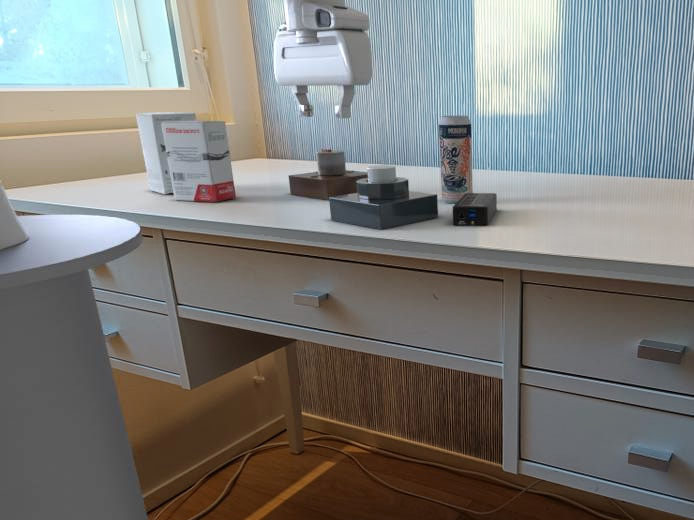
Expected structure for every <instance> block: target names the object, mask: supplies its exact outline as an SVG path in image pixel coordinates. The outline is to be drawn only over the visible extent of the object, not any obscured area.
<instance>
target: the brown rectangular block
mask: <svg viewBox="0 0 694 520" xmlns="http://www.w3.org/2000/svg"><path fill="white" fill-rule="evenodd" d="M365 178H368V172H367V171H359V170H350V169H346V174H343V175H334V176H323V175H319V174H318V170H316V171H313V172H312V171H311V172H305V173H297V174H289V175H288V183H289V191H290V195H294V196H299V197H305V198H313V199H319V200H325V201H329V197H334V196H340V195H347V194H353V193H357V186H356V181H357V180H360V179H365Z"/></svg>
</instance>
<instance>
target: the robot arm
mask: <svg viewBox="0 0 694 520" xmlns="http://www.w3.org/2000/svg"><path fill="white" fill-rule="evenodd" d="M283 3H284V12H285V22H282V23H281V24H280V25H279V28H278V29H277V31H276V35H275V39H274V44H273V67H274V68H273V70H274V79H275V81H276V83H277V84H278V86H280V87H291V95H292V96H293V98H294V100H295V103H296V104H297V108H298V116H299V117H302V118H312V117H313V116H314V106H313V104H311V103H310V101H309V99H308V96H307V94H308V93H309V87H308V86H312V87H313V86H314V87H315V86H316V87H317V86H323V87H325V86H337V94H338V95H339V100H338V104H337V105H335V106H334V110H335V118H337V119H350V118H351V116H352V112H351V111H352V110H351V106H352V104H353V100H354V97H355V94H356V90H355V86H369V85H370V83H371V80H372V78H373V53H372V44H371V39H370V37H369V34H368V33H367V32H366V31H368V30H370V23H371V22H370V17H369V15H368V14H367V13H365V12H362V11H359V10H357V9H355V8H353V7H351V6H349V5H346V0H283ZM17 216H18V215H17V212H16V211H15V209H14V208H13V205H12V203H11V200H10V199H9V196H8V194H7V192H6V190H5V187H4V185H3V183H2V181H1V179H0V250H1V249H4V248H8V247H11V246H14V245H17V244H19V243H22V242H24V241H26V240H27V239H28V238H29V235H28V233H27V232H26V230H25V229H24V227H23V225H22V224H21V222H20V220H19V219H18V217H17Z"/></svg>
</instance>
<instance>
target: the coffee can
mask: <svg viewBox="0 0 694 520" xmlns="http://www.w3.org/2000/svg"><path fill="white" fill-rule="evenodd" d="M472 137H473V136H472V122H471V119H470V116H469V115H441V116H440V119H439V121H438V144H439V168H440V169H439V170H440V171H439V172H440V196H441V197H440V199H441V200H442V201H444V202H445V203H448V204H449V203H450V204H456V203H457V202H458V201H459V200H460V199H461V198H462V197H463V195H464V194H466V193H474V191H473V190H474V189H473V187H474V186H473V145H472V144H473V142H472V141H473V139H472Z"/></svg>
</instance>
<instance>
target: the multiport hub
mask: <svg viewBox="0 0 694 520" xmlns="http://www.w3.org/2000/svg"><path fill="white" fill-rule="evenodd" d="M497 197H498V196H497V193H494V192H489V193H488V192H473V193H466V194H464V195H463V197H462V198H461V199H460V200H459V201H458V202H457V203H454V204H453V206H452V225H453V226H484V227H485V226H488V225H489V224H490V222H491V221H492V219H493V217H494V216H495V214H496V212H497V211H498V206H497V205H498V203H497Z"/></svg>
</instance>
